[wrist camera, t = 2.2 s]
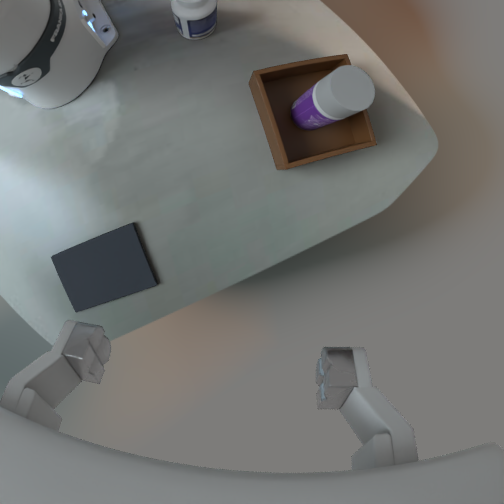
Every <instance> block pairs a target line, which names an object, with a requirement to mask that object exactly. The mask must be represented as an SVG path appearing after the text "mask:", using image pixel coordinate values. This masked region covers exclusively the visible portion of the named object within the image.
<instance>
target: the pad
mask: <svg viewBox="0 0 504 504" xmlns="http://www.w3.org/2000/svg"><path fill="white" fill-rule="evenodd" d="M51 258H52V261H53V263H54V266H55V268H56V271H57V273H58V275H59V278H60V280H61V282H62V284H63V287H64V289H65V291H66V293H67V295H68V297H69V300H70V302H71V304H72V306H73V308H74V310H75V312H79V311H82V310H85V309H88V308H91V307H94V306H97V305H100V304H103V303H106V302H109V301H112V300H115V299H118V298H121V297H124V296H127V295H130V294H132V293H135V292H138V291H141V290H144V289H147V288H150V287H153V286H156V285H157V284H158V283H157V281H156V279H155V276H154V274H153V271H152V269H151V266H150V264H149V261H148V259H147V256H146V254H145V251H144V249H143V246H142V244H141V241H140V239H139V236H138V233H137V231H136V228H135V225H134V223H131V224H128V225H126V226H123V227H120V228H118V229H115V230H113V231H110V232H108V233H105V234H103V235H100V236H98V237H96V238H93V239H91V240H88V241H86V242H84V243H81V244H79V245H76V246H74V247H72V248H69V249H67V250H65V251H63V252H60V253H58V254H56V255H53V256H52V257H51Z"/></svg>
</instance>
